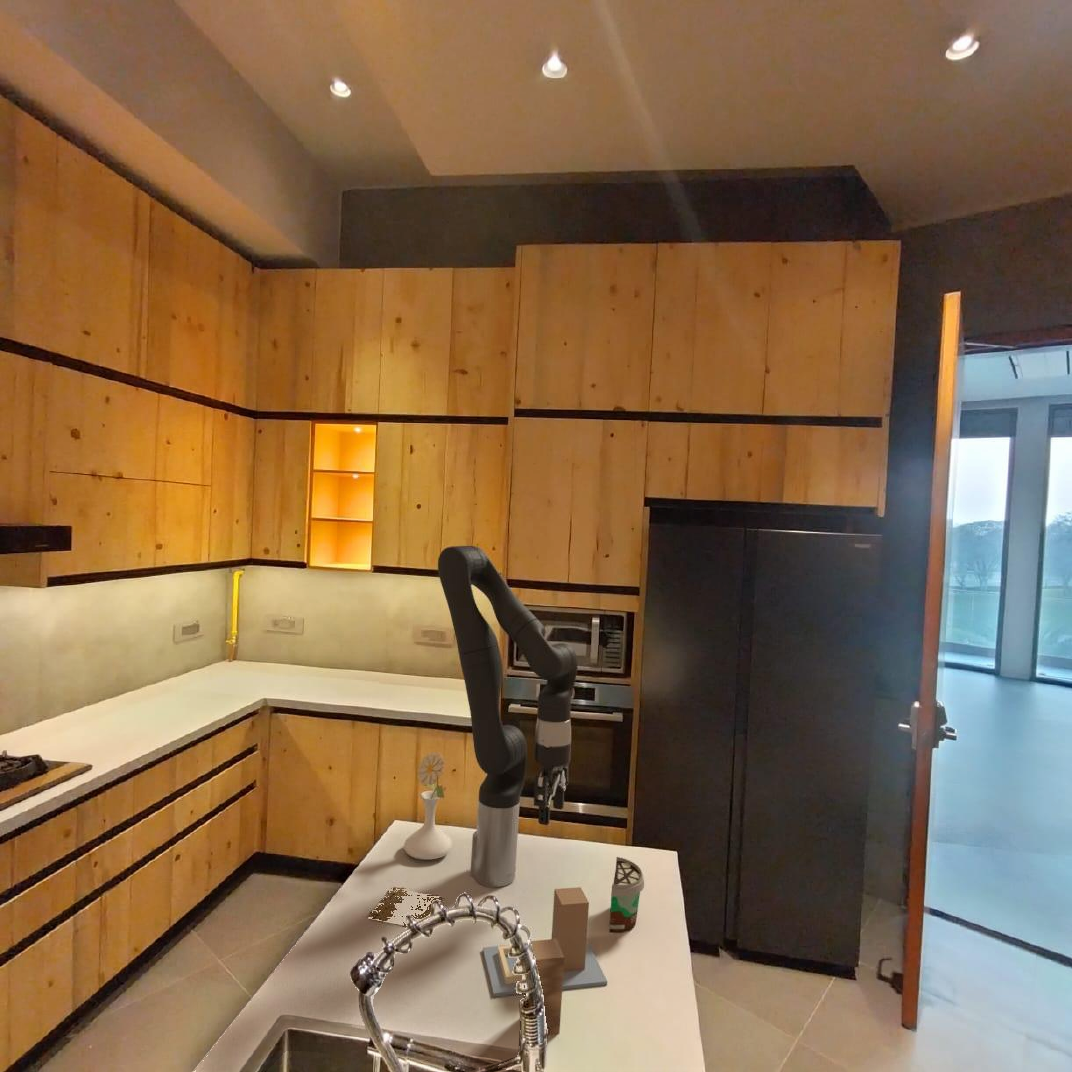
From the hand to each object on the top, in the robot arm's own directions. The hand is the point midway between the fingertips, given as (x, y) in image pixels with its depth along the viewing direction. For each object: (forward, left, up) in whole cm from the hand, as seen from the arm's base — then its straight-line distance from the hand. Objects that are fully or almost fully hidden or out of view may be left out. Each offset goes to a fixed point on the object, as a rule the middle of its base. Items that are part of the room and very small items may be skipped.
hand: (551, 816), depth 138 cm
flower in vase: (-32, +2, -18) cm, 37 cm away
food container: (+17, +2, -18) cm, 25 cm away
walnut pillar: (+14, -32, -18) cm, 39 cm away
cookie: (-23, -18, -19) cm, 34 cm away
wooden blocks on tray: (+9, -19, -18) cm, 28 cm away
